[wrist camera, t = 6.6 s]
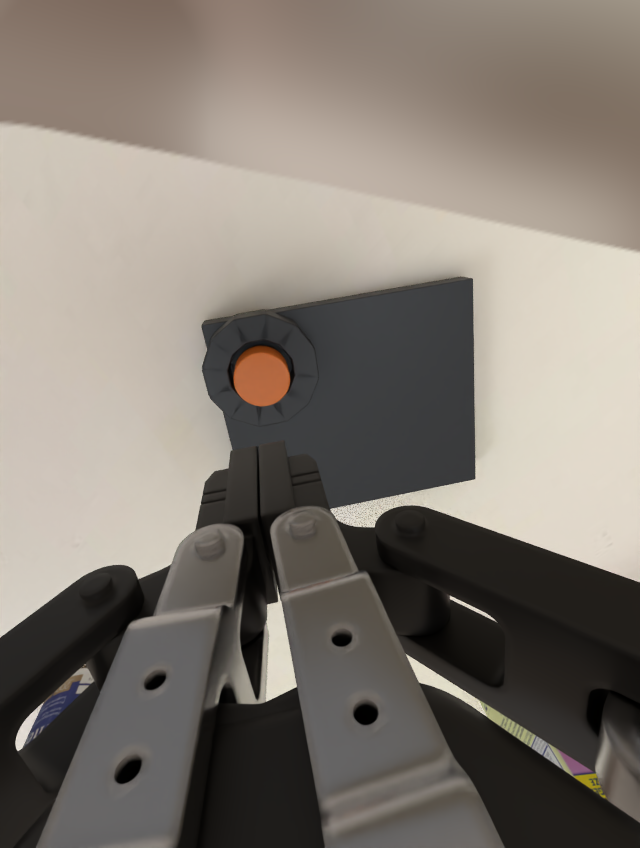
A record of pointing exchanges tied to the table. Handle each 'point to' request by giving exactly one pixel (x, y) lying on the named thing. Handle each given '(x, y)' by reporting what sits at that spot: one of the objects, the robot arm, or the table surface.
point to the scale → (361, 387)
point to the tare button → (261, 376)
